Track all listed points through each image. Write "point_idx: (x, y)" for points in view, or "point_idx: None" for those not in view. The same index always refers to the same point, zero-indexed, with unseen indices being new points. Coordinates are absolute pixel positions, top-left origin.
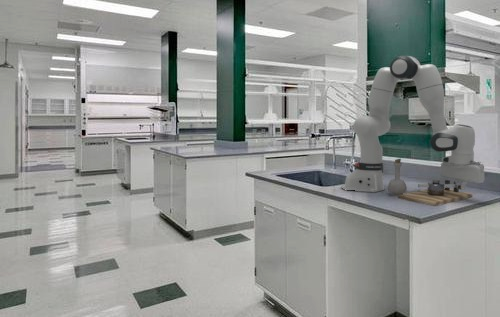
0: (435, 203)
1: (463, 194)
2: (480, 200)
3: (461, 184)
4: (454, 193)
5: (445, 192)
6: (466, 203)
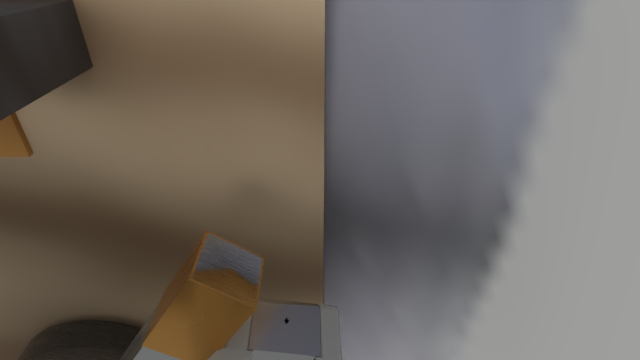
0: None
1: (275, 156)
2: (499, 115)
3: (233, 318)
4: (165, 193)
5: (60, 224)
6: (430, 329)
